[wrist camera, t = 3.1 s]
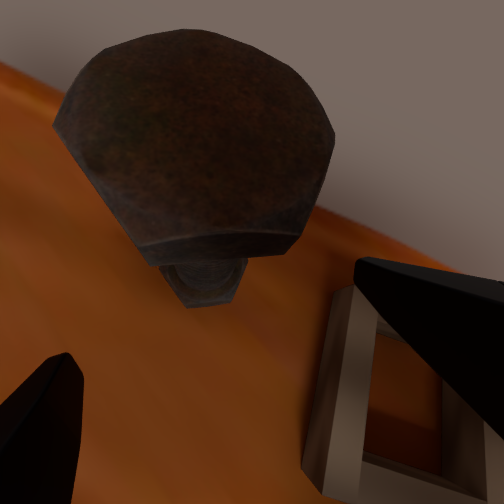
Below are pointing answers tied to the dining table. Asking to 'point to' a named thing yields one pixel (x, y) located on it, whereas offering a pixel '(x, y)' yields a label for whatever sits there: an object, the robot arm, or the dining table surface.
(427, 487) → the socket block
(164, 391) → the dining table surface
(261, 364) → the dining table surface
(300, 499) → the dining table surface
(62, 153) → the dining table surface
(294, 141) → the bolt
